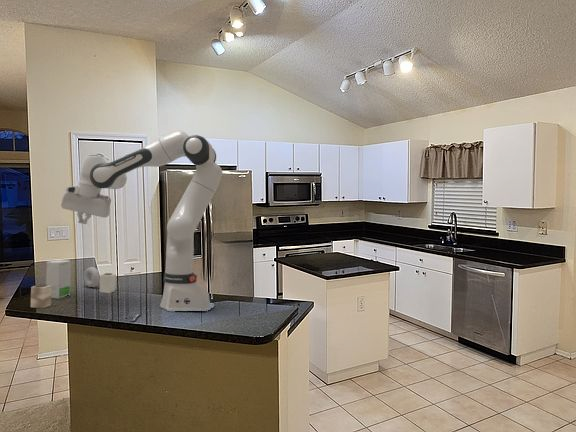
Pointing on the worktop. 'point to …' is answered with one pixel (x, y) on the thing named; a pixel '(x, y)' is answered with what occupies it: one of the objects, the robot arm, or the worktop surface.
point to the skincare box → (59, 277)
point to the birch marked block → (41, 296)
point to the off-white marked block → (107, 282)
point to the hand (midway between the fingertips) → (82, 223)
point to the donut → (95, 277)
